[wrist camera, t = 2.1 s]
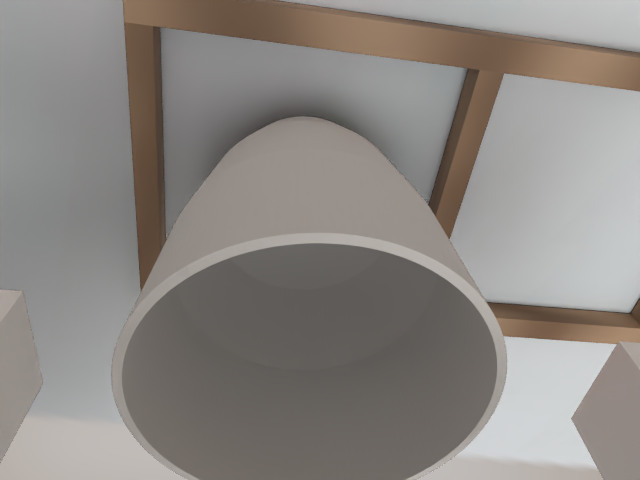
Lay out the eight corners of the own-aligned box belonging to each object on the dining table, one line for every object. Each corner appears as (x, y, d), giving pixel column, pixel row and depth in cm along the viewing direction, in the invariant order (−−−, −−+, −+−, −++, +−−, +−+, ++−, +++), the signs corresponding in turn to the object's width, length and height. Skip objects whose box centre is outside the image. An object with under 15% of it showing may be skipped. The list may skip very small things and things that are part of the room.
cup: (350, 292, 22) (389, 528, 14) (164, 230, 20) (75, 466, 12) (452, 126, 18) (591, 316, 10) (234, 27, 16) (176, 163, 8)
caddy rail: (147, 294, 22) (141, 310, 21) (130, -21, 15) (122, -16, 14) (835, 345, 26) (854, 360, 25) (1053, 112, 19) (1089, 122, 18)
